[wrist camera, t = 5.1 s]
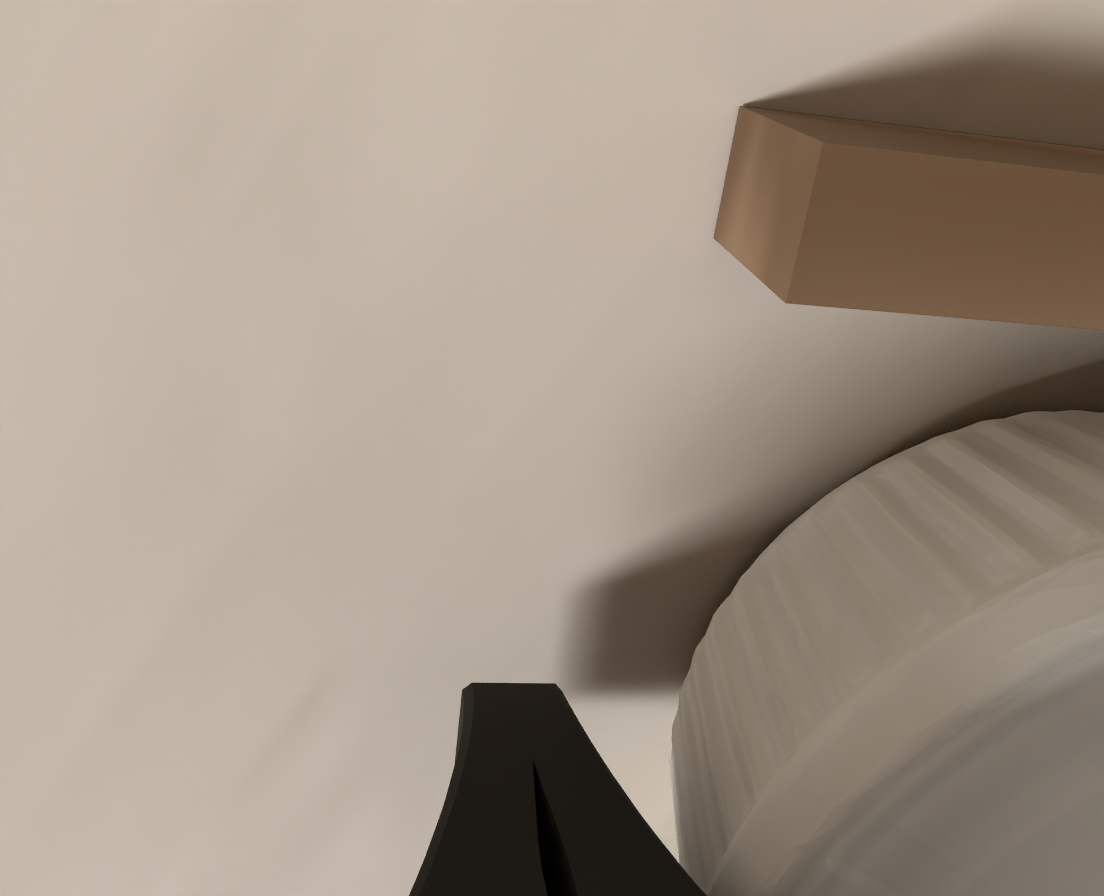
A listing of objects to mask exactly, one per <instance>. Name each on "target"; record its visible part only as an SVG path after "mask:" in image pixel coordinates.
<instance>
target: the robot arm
mask: <svg viewBox="0 0 1104 896" xmlns="http://www.w3.org/2000/svg"><path fill="white" fill-rule="evenodd" d="M409 896H707V895H706V894H705V893H704V892H703V891H702V889H701V888H700V887H699V886H698V885H697V884H696V883H695V881H694V880H693V879H692V878H691V877H690V876H689V875H688V873H687V872H686V871H685V870H684V869H683V867H682V866H681V865H680V864H679V863H678V862H677V860H676V859H675V858H674V857H673V855H672V854H671V853H670V852H669V850H668V849H667V848H666V847H665V845H664V844H663V843H662V842H661V840H660V839H659V838H658V837H657V835H656V834H655V833H654V832H653V830H652V829H651V828H650V826H649V825H648V824H647V822H646V821H645V820H644V818H643V817H642V816H641V814H640V813H639V812H638V810H637V809H636V807H635V806H634V805H633V803H632V802H631V800H630V799H629V797H628V796H627V795H626V793H625V792H624V790H623V789H622V787H621V786H620V785H619V783H618V782H617V780H616V779H615V777H614V776H613V775H612V773H611V772H610V770H609V769H608V767H607V766H606V764H605V763H604V761H603V760H602V758H601V756H600V755H599V753H598V752H597V750H596V748H595V747H594V745H593V744H592V742H591V740H590V739H589V737H588V736H587V734H586V732H585V731H584V729H583V727H582V726H581V724H580V722H579V721H578V719H577V717H576V715H575V714H574V712H573V710H572V708H571V707H570V705H569V703H568V701H567V699H566V698H565V696H564V694H563V692H562V691H561V689H560V688H559V687H558V686H557V685H556V684H546V683H471V684H470V685H468V686H467V687H466V688H464V689H463V690H462V697H461V707H460V717H459V727H458V737H457V747H456V757H455V766H454V770H453V774H452V777H451V781H450V785H449V788H448V792H447V796H446V799H445V802H444V806H443V809H442V812H441V815H440V817H439V820H438V823H437V826H436V828H435V831H434V834H433V837H432V840H431V842H430V845H429V848H428V851H427V853H426V856H425V859H424V861H423V864H422V866H421V869H420V871H419V873H418V876H417V878H416V881H415V883H414V885H413V888H412V890H411V892H410V895H409Z"/></svg>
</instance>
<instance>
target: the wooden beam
mask: <svg viewBox="0 0 1104 896" xmlns="http://www.w3.org/2000/svg"><path fill="white" fill-rule="evenodd" d="M714 239H715V240H716V241H717V242H718V243H720V244H721V245H722V246H723V247H724V248H725V249H726V250H727V251H728V252H730V253H731V254H732V255H733V256H734V257H735V258H736V259H737V260H738V261H740V262H741V263H742V264H743V265H744V266H745V267H746V268H747V269H748V270H750V271H751V272H752V273H753V274H754V275H755V276H756V277H757V278H758V279H759V280H761V281H762V282H763V283H764V284H765V285H766V286H767V287H768V288H769V289H771V290H772V291H773V292H774V293H775V294H776V295H777V296H778V297H779V298H781V299H782V300H783V301H784V302H785V303H790V304H802V305H814V306H825V307H837V308H849V309H861V310H872V311H884V312H896V313H908V314H919V315H931V316H943V317H954V318H966V319H978V320H990V321H1001V322H1013V323H1025V324H1036V325H1048V326H1060V327H1072V328H1083V329H1095V330H1104V150H1100V149H1092V148H1083V147H1075V146H1067V145H1058V144H1050V143H1042V142H1034V141H1025V140H1017V139H1009V138H1000V137H992V136H984V135H976V134H967V133H959V132H951V131H942V130H934V129H926V128H918V127H909V126H901V125H893V124H884V123H876V122H868V121H860V120H851V119H843V118H835V117H826V116H818V115H810V114H802V113H793V112H785V111H777V110H768V109H760V108H752V107H744V106H740V107H739V112H738V117H737V122H736V127H735V132H734V137H733V142H732V147H731V152H730V157H729V163H728V168H727V173H726V178H725V183H724V188H723V193H722V198H721V203H720V208H719V213H718V219H717V224H716V229H715V234H714Z"/></svg>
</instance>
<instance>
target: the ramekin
mask: <svg viewBox="0 0 1104 896" xmlns="http://www.w3.org/2000/svg"><path fill="white" fill-rule="evenodd" d="M670 775H671V785H672V796H673V806H674V817H675V827H676V836H677V845H678V853H679V862H680V865H681V866H682V867H683V869H684V870H685V871H686V872H687V873H688V875H689V876H690V877H691V878H692V879H693V880H694V881H695V883H696V884H697V885H698V886H699V887H700V888H701V889H702V891H703V892H704V893H705V894H706V895H707V896H1104V413H1097V412H1089V411H1082V410H1066V411H1057V412H1049V411H1034V412H1027V413H1022V414H1018V415H1014V416H1011V417H1007V418H1004V419H991V420H985V421H980V422H978V423H975V424H972V425H970V426H967V427H964V428H962V429H959V430H956V431H952V432H949V433H945V434H942V435H939V436H936V437H933V438H931V439H929V440H927V441H925V442H923V443H921V444H919V445H916V446H913V447H911V448H909V449H907V450H904V451H902V452H900V453H898V454H895V455H893V456H891V457H889V458H887V459H885V460H883V461H881V462H879V463H877V464H875V465H873V466H872V467H870V468H868V469H867V470H865V471H863V472H861V473H860V474H858V475H856V476H855V477H853V478H851V479H850V480H848V481H847V482H845V483H844V484H842V485H841V486H839V487H837V488H836V489H834V490H833V491H831V492H830V493H828V494H827V495H826V496H824V497H823V498H822V499H821V500H819V501H818V502H817V503H816V504H814V505H813V506H812V507H811V508H809V509H808V510H807V511H806V512H804V513H803V514H802V515H801V516H800V517H798V518H797V519H796V520H795V521H794V522H792V523H791V524H790V525H789V526H788V527H787V528H785V529H784V531H783V532H782V533H781V534H780V535H779V536H778V537H777V538H776V539H775V540H774V541H773V542H772V543H771V544H770V545H769V546H768V547H767V548H766V549H765V550H764V551H763V552H762V553H761V554H760V555H759V556H758V558H757V559H756V560H755V562H754V563H753V564H752V565H751V567H750V568H749V569H748V570H747V571H746V572H745V573H744V574H743V575H742V576H741V578H740V579H739V581H738V583H737V584H736V586H735V587H734V589H733V591H732V592H731V594H730V595H729V596H728V597H727V598H726V600H725V601H724V602H723V603H722V604H721V605H720V606H719V608H718V609H717V611H716V612H715V613H714V615H713V617H712V619H711V622H710V624H709V627H708V629H707V632H706V634H705V636H704V637H703V638H702V640H701V641H700V643H699V644H698V646H697V647H696V649H695V652H694V655H693V657H692V662H691V667H690V669H689V671H688V674H687V676H686V678H685V680H684V682H683V685H682V688H681V691H680V696H679V705H678V711H677V714H676V717H675V720H674V723H673V727H672V752H671V758H670Z"/></svg>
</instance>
